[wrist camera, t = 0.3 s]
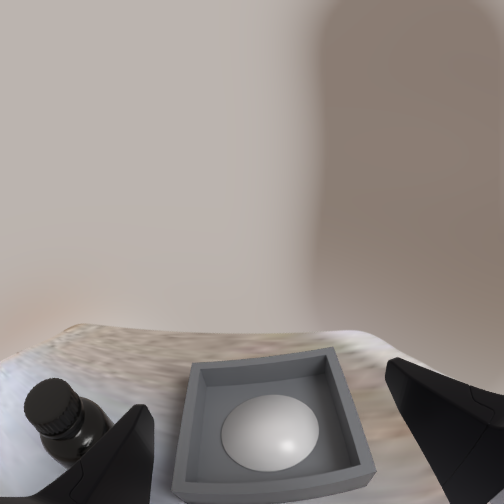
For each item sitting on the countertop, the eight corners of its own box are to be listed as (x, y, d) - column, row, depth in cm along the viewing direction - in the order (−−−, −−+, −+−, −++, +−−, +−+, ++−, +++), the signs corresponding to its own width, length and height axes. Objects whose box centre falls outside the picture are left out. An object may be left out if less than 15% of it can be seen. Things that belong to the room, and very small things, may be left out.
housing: (365, 486, 15) (376, 471, 14) (187, 503, 16) (170, 491, 14) (331, 371, 29) (333, 346, 27) (201, 386, 29) (192, 362, 28)
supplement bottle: (89, 448, 20) (24, 372, 15) (144, 441, 22) (87, 361, 17) (91, 500, 14) (6, 433, 9) (154, 496, 16) (80, 431, 11)
